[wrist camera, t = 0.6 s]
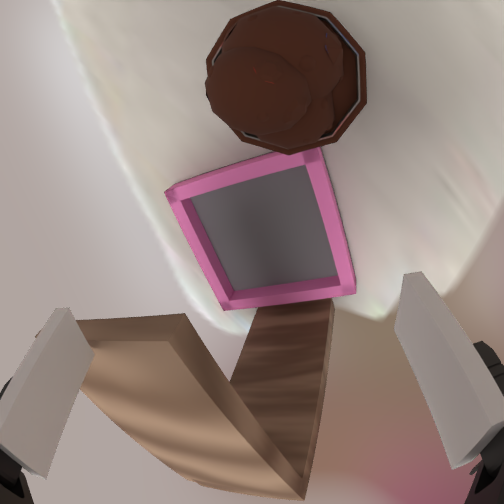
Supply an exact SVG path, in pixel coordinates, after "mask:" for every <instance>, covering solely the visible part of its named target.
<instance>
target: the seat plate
mask: <svg viewBox="0 0 504 504" xmlns="http://www.w3.org/2000/svg"><path fill="white" fill-rule="evenodd" d="M164 193H165V195H166V198H167V200H168V202H169V204H170V206H171V208H172V210H173V212H174V214H175V216H176V218H177V220H178V222H179V225H180V227H181V229H182V231H183V233H184V235H185V237H186V239H187V241H188V243H189V245H190V247H191V249H192V251H193V253H194V255H195V257H196V259H197V261H198V263H199V265H200V267H201V269H202V270H203V272H204V274H205V276H206V278H207V280H208V282H209V284H210V286H211V288H212V290H213V292H214V294H215V295H216V297H217V299H218V301H219V303H220V305H221V307H222V309H223V311H226V310H236V309H245V308H254V307H263V306H271V305H280V304H288V303H295V302H303V301H310V300H318V299H325V298H332V297H338V296H345V295H352V294H356V277H355V273H354V268H353V264H352V260H351V256H350V251H349V247H348V243H347V239H346V235H345V231H344V227H343V223H342V220H341V216H340V212H339V208H338V205H337V201H336V198H335V194H334V190H333V187H332V184H331V180H330V177H329V173H328V170H327V167H326V164H325V160H324V157H323V154H322V151H321V148H320V147H317V148H313V149H310V150H306V151H303V152H299V153H296V154H293V155H285V154H282V153H279V152H276V151H274V152H271V153H267V154H264V155H261V156H257V157H254V158H251V159H248V160H244V161H241V162H238V163H235V164H232V165H229V166H226V167H222V168H219V169H216V170H213V171H210V172H207V173H204V174H202V175H199V176H196V177H193V178H190V179H187V180H184V181H182V182H179V183H176V184H174V185H173V186H171V187H170V188H169V189H167V190H166V191H165V192H164Z"/></svg>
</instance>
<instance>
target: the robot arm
mask: <svg viewBox="0 0 504 504" xmlns="http://www.w3.org/2000/svg"><path fill="white" fill-rule="evenodd" d="M394 331H395V333H396V335H397V337H398V339H399V341H400V343H401V345H402V347H403V350H404V352H405V354H406V356H407V358H408V361H409V363H410V365H411V367H412V369H413V372H414V374H415V376H416V378H417V380H418V383H419V385H420V388H421V390H422V392H423V395H424V397H425V400H426V402H427V404H428V407H429V409H430V412H431V414H432V417H433V419H434V422H435V424H436V427H437V430H438V432H439V435H440V438H441V440H442V443H443V445H444V448H445V451H446V454H447V457H448V460H449V463H450V465H451V468H452V470H453V469H455V468H457V467H460V466H462V465H465V464H467V463H469V462H471V461H472V460H474V459H475V458H476V457H477V456H478V455H479V453H480V454H481V457H482V460H481V461H480V462H479V463H478V464H477V465H476V466H475V467H474V468H473V469H472V471H471V472H470V475H472V474H474V473H475V472H476V471H477V473H476V476H475V479H474V481H473V484H472V486H471V489H470V491H469V494H468V497H467V499H466V501H465V503H464V504H504V366H503V364H501V361H500V359H499V358H498V356H497V355H496V353H495V352H494V350H493V349H492V348H490V347H489V346H488V345H487V344H485V343H484V342H483V341H480V342H477V343H474V344H472V342H471V341H470V339H469V338H468V336H467V335H466V333H465V332H464V330H463V329H462V327H461V326H460V324H459V323H458V321H457V320H456V318H455V317H454V315H453V314H452V312H451V311H450V310H449V308H448V307H447V305H446V304H445V303H444V301H443V300H442V298H441V297H440V296H439V294H438V293H437V291H436V290H435V289H434V287H433V286H432V285H431V283H430V282H429V281H428V279H427V278H426V277H425V275H424V274H423V273H422V272H415V273H408V274H404V276H403V283H402V289H401V295H400V301H399V306H398V312H397V317H396V322H395V327H394ZM94 355H95V354H94V352H93V351H92V349H91V347H90V346H89V344H88V342H87V340H86V339H85V337H84V335H83V333H82V331H81V330H80V328H79V326H78V324H77V322H76V320H75V318H74V317H73V315H72V313H71V311H70V309H69V308H56V309H55V310H54V312H53V313H52V315H51V316H50V318H49V319H48V321H47V322H46V324H45V325H44V327H43V328H42V330H41V331H40V333H39V334H38V336H37V338H36V339H35V341H34V342H33V344H32V346H31V347H30V349H29V350H28V352H27V354H26V355H25V357H24V359H23V361H22V362H21V364H20V366H19V367H18V369H17V370H16V372H15V374H14V376H13V377H12V378H11V379H10V380H9V381H8V382H7V383H6V384H5V385H4V387H3V389H2V391H1V393H0V504H34V502H33V499H32V496H31V493H30V490H29V487H28V484H27V480H26V478H25V475H24V474H23V473H22V472H21V469H22V467H23V468H24V469H26V470H27V471H28V472H30V473H31V474H32V475H35V476H38V477H41V478H43V479H46V478H47V475H48V472H49V469H50V466H51V463H52V460H53V457H54V454H55V452H56V449H57V446H58V443H59V440H60V438H61V435H62V432H63V430H64V427H65V424H66V422H67V419H68V417H69V414H70V412H71V409H72V406H73V404H74V401H75V399H76V397H77V394H78V392H79V389H80V387H81V385H82V382H83V380H84V378H85V375H86V373H87V371H88V369H89V366H90V364H91V362H92V360H93V358H94Z"/></svg>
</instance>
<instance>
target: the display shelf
mask: <svg viewBox="0 0 504 504" xmlns="http://www.w3.org/2000/svg"><path fill="white" fill-rule="evenodd" d="M334 312H335V309H334V305H333V301H332V298H325V299H318V300H310V301H303V302H295V303H288V304H280V305H271V306H263V307H258V309H257V311H256V314H255V317H254V319H253V322H252V325H251V327H250V330H249V333H248V335H247V338H246V341H245V343H244V346H243V349H242V351H241V354H240V356H239V359H238V362H237V365H236V367H235V370H234V372H233V375H232V377H231V380H230V382H229V381H228V379H227V378H226V377H225V375H224V374H223V372H222V371H221V369H220V367H219V366H218V365H217V363H216V362H215V360H214V358H213V357H212V355H211V354H210V352H209V351H208V349H207V348H206V346H205V345H204V343H203V342H202V340H201V338H200V337H199V336H198V334H197V332H196V330H195V329H194V327H193V326H192V324H191V323H190V321H189V319H188V317H187V316H186V314H185V313H183V314H171V315H159V316H144V317H129V318H113V319H93V320H76V322H77V324H78V326H79V328H80V330H81V331H82V333H83V335H84V337H85V339H86V340H87V342H88V344H89V346H90V347H91V349H92V351H93V352H94V354H95V355H94V358H93V360H92V362H91V364H90V366H89V369H88V371H87V373H86V375H85V378H84V380H83V382H82V385H81V387H80V390H81V391H82V392H83V393H84V394H85V395H86V396H87V397H88V398H89V399H90V400H91V401H92V402H93V403H94V404H95V405H96V406H97V407H98V408H99V409H100V410H101V411H102V412H103V413H104V414H106V415H107V416H108V417H109V418H110V419H111V420H112V421H113V422H114V423H115V424H116V425H118V426H119V427H120V428H121V429H122V430H123V431H125V433H127V434H128V435H129V436H130V437H131V438H133V439H134V440H135V441H136V442H137V443H139V444H140V445H141V446H142V447H144V448H145V449H146V450H147V451H149V452H150V453H151V454H152V455H154V456H155V457H156V458H157V459H159V460H160V461H162V462H163V463H164V464H166V465H167V466H168V467H170V468H171V469H172V470H174V471H175V472H176V473H178V474H179V475H181V476H182V477H184V478H185V479H187V480H189V481H193V482H197V483H198V484H199V485H201V486H205V487H210V488H214V489H219V490H224V491H229V492H235V493H241V494H247V495H254V496H260V497H268V498H277V499H288V500H300V501H304V500H305V495H306V491H307V487H308V483H309V478H310V473H311V468H312V464H313V458H314V453H315V448H316V443H317V437H318V432H319V426H320V420H321V414H322V408H323V402H324V395H325V388H326V381H327V374H328V366H329V357H330V350H331V341H332V332H333V322H334ZM40 331H41V330H40ZM39 333H40V332H39ZM39 333H38V334H39ZM38 334H37V335H36V336H35V338H37V336H38Z"/></svg>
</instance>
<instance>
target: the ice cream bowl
mask: <svg viewBox="0 0 504 504" xmlns="http://www.w3.org/2000/svg"><path fill="white" fill-rule="evenodd" d="M206 65H207V74H208V77H207V79H206V81H205V87H206V96H207V98H208V100H209V102H210V105H211V108H212V111H213V112H214V113H215V114H216V115H217V116H218V117H219V118H220V119H222V120H223V121H224V122H225V123H226V124H227V125H228V126H229V127H230V128H231V129H232V130H233V131H234V133H235V134H236V135H237V136H238V137H239V139H240V140H241V141H242V142H246V143H249V144H253V145H256V146H260V147H263V148H266V149H270V150H273V151H276V152H279V153H282V154H285V155H293V154H296V153H299V152H303V151H306V150H310V149H313V148H317V147H320V146H324V145H328V144H331V143H335V142H337V141H338V140H339V138H340V137H341V136H342V134H343V133H344V132H345V131H346V129H347V128H348V127H349V125H350V124H351V123H352V122H353V120H354V119H355V118H356V116H357V115H358V114H359V113H360V111H361V110H362V109H363V107H364V106H365V105H366V104H367V87H366V59H365V52H364V51H363V49H362V48H361V47H360V46H359V44H358V43H357V42H356V41H355V40H354V38H353V37H352V36H351V35H350V34H349V32H348V31H347V30H346V29H345V28H344V27H343V26H342V24H341V23H340V22H339V21H338V20H337V19H336V18H335V17H334V16H333V15H332V13H331V12H328V11H324V10H320V9H316V8H312V7H308V6H304V5H300V4H295V3H291V2H286V1H281V0H276V1H274V2H271V3H268V4H266V5H263V6H260V7H258V8H255V9H253V10H250V11H248V12H246V13H243V14H241V15H239V16H236V17H234V18H232V19H230V21H229V22H228V24H227V25H226V27H225V29H224V30H223V32H222V33H221V35H220V37H219V38H218V40H217V42H216V43H215V45H214V47H213V48H212V50H211V52H210V54H209V55H208V57H207V59H206Z"/></svg>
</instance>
